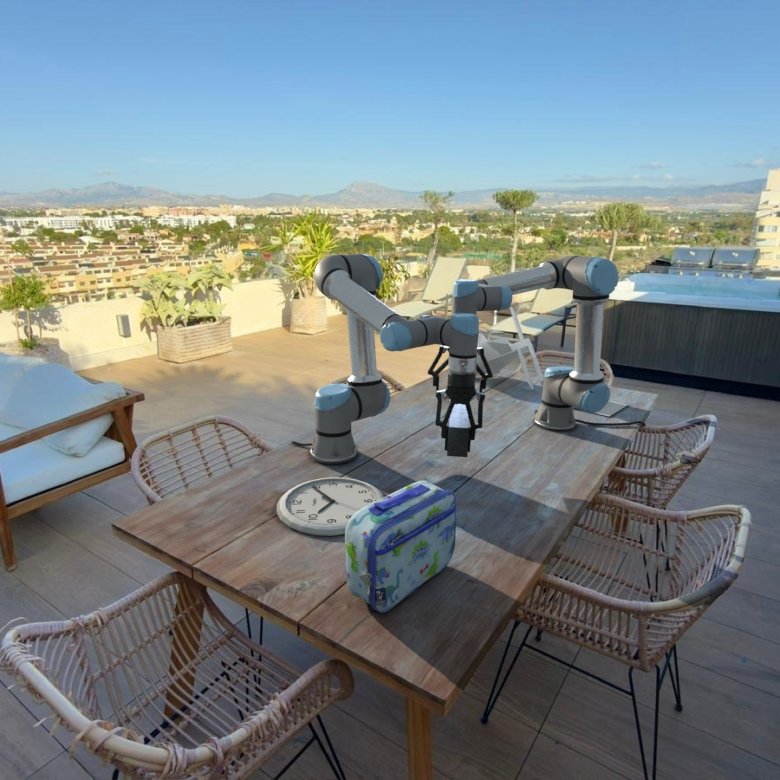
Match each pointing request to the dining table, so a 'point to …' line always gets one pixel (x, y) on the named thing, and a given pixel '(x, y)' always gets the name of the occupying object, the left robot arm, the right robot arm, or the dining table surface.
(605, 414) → the invitation card
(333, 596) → the dining table surface
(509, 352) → the white plastic object
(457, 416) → the bar
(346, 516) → the wall clock
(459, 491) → the dining table surface
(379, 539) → the lunch box
